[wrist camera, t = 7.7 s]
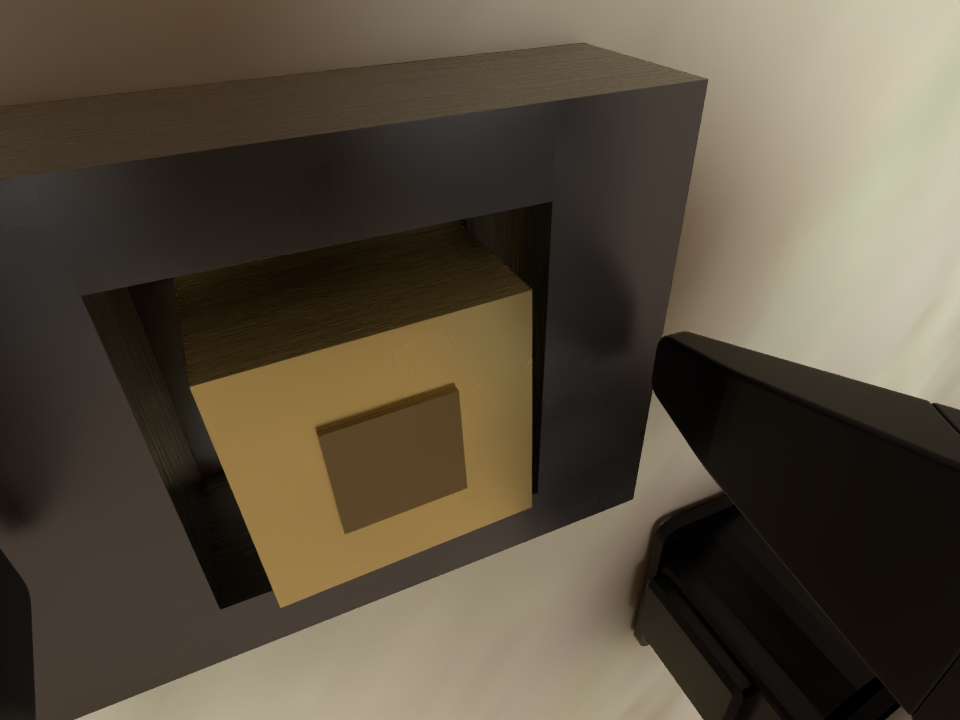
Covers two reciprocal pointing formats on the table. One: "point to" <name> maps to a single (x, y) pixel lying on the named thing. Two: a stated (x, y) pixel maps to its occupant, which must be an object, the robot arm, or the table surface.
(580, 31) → the table surface
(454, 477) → the nut
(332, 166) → the rail
